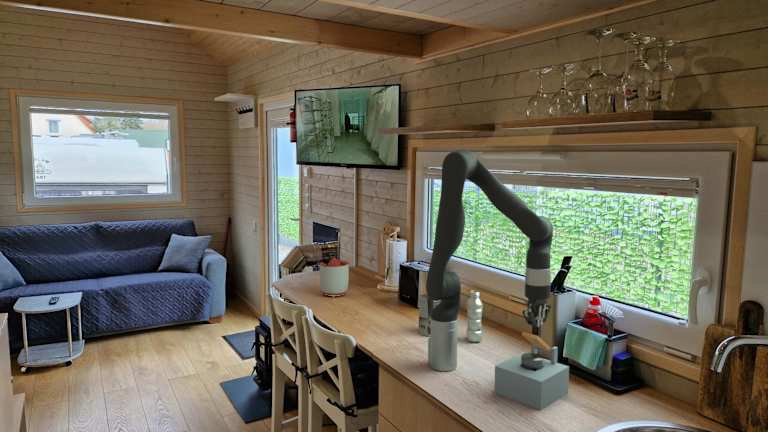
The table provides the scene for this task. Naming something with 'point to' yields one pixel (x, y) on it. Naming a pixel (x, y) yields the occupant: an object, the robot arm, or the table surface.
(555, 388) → the block
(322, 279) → the pale green pot
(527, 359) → the pin
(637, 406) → the table surface
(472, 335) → the plastic bottle
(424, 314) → the coffee box
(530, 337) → the tan flat wooden board
